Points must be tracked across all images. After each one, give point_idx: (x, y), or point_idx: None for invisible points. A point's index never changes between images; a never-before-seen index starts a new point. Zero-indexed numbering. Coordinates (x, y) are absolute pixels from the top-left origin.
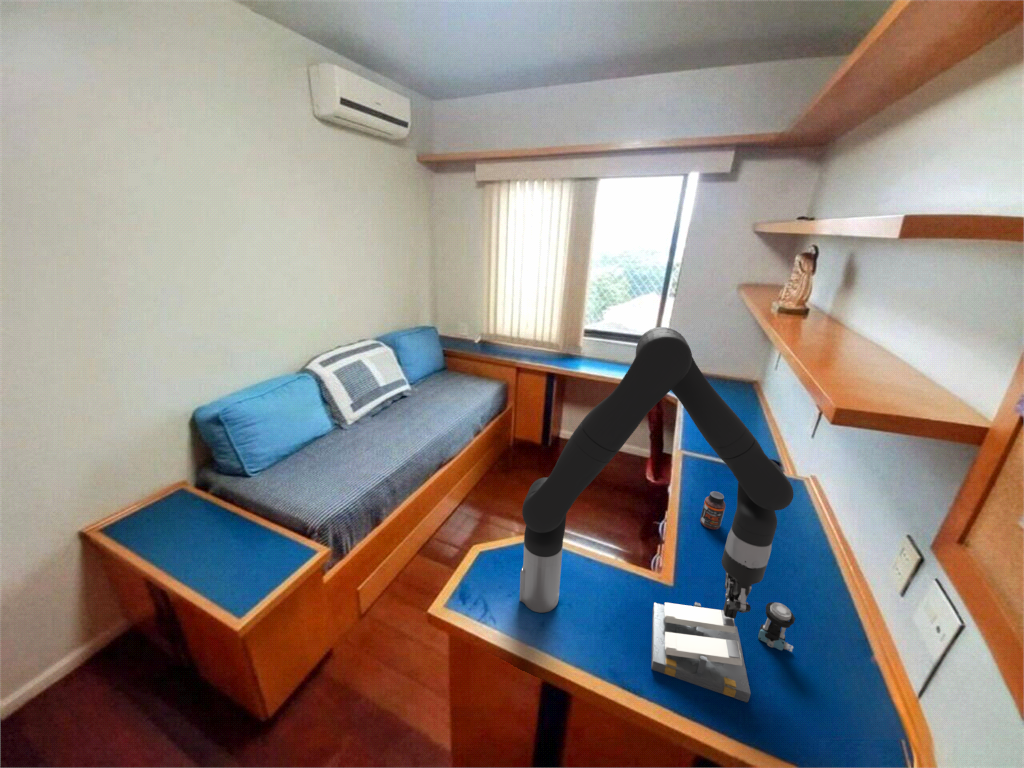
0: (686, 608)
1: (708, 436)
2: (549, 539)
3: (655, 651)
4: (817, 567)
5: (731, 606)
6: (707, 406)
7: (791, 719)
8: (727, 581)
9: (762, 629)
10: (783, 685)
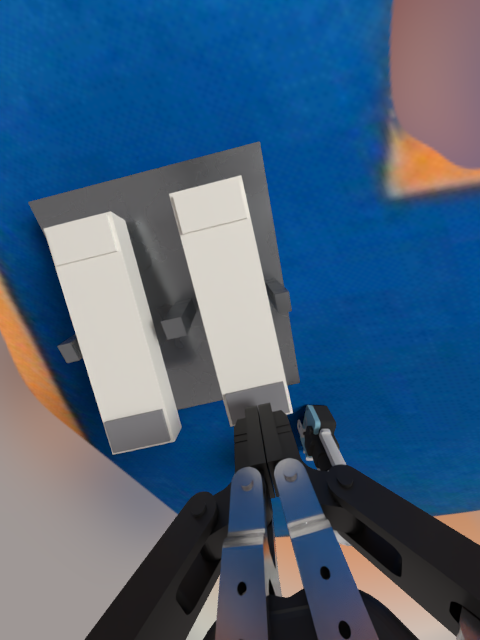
0: (244, 266)
1: None
2: None
3: (65, 200)
4: None
5: (158, 558)
6: None
7: (168, 451)
8: (322, 629)
9: (320, 425)
10: (225, 441)
